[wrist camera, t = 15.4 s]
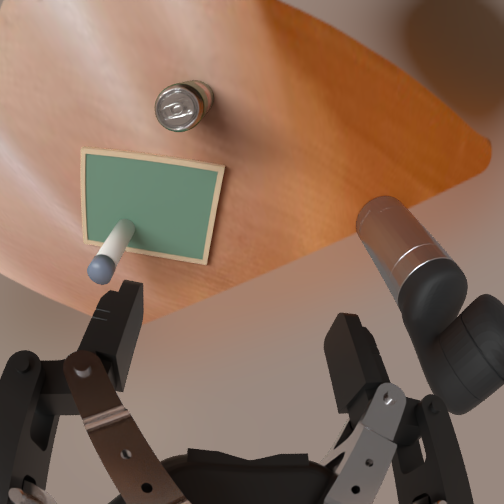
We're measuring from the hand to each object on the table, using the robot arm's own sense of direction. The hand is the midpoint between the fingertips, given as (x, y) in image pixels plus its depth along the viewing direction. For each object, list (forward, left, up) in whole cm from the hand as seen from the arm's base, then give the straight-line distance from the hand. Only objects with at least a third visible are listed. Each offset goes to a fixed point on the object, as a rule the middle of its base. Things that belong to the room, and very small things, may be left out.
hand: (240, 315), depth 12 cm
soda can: (+7, -4, -33) cm, 34 cm away
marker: (+15, +17, -32) cm, 39 cm away
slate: (+12, +13, -33) cm, 38 cm away
